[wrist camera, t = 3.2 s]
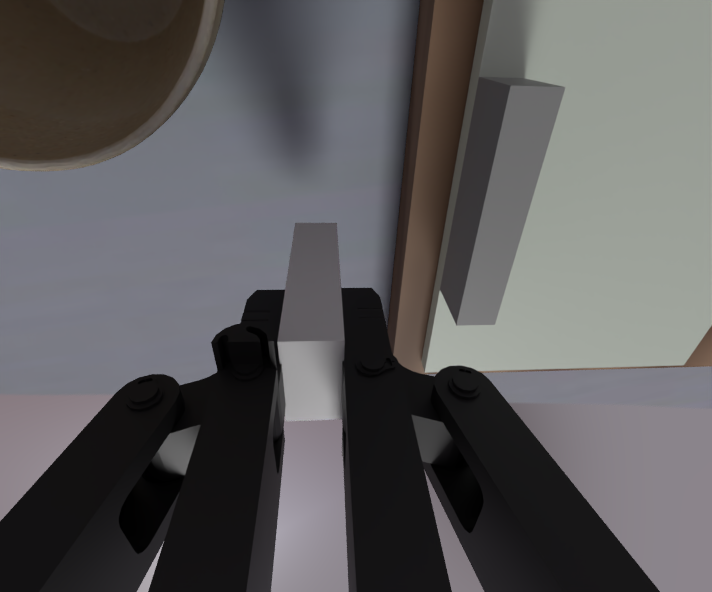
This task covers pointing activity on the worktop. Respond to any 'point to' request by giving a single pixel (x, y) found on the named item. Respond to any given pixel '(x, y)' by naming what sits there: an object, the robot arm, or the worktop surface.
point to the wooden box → (441, 175)
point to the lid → (580, 190)
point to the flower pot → (95, 75)
